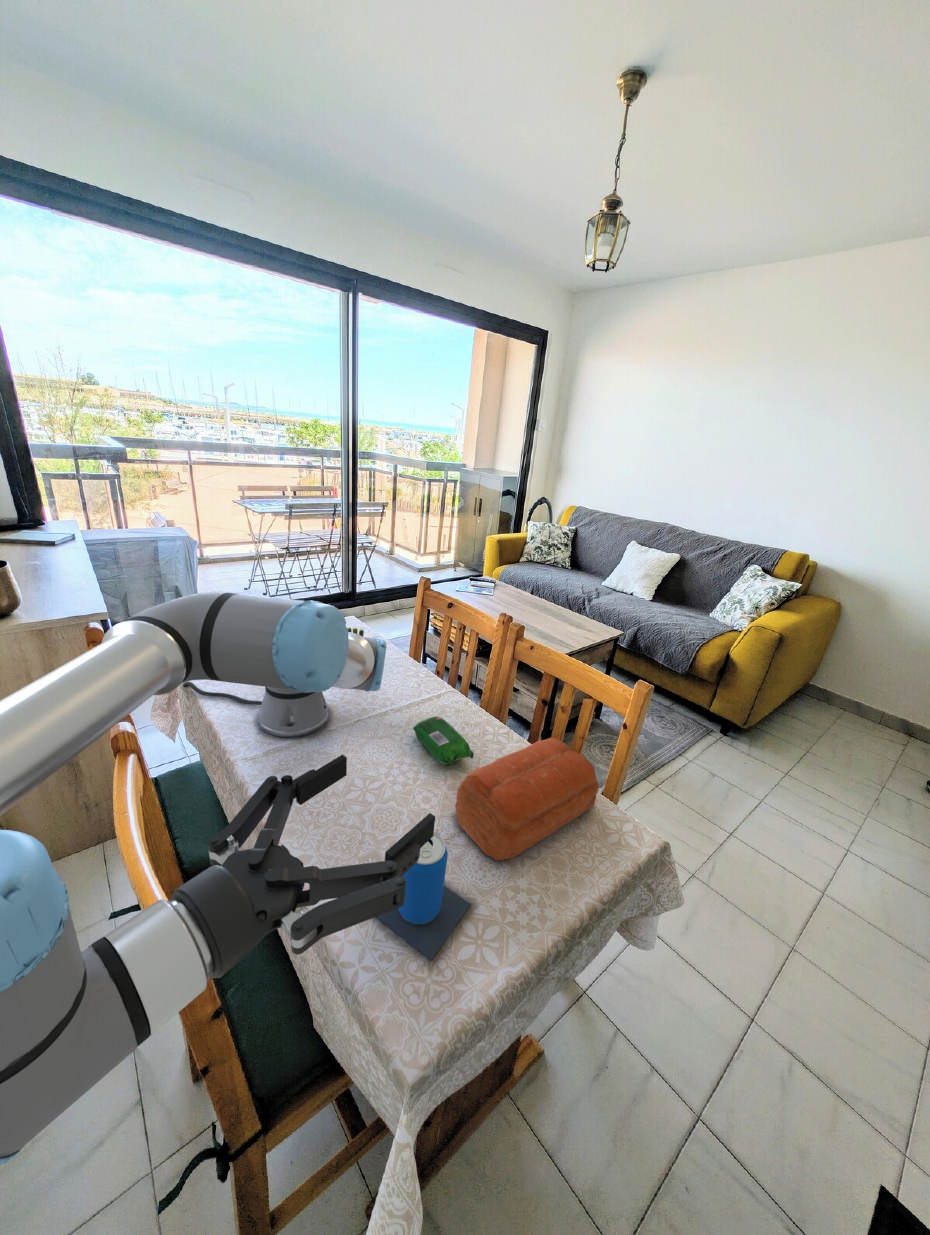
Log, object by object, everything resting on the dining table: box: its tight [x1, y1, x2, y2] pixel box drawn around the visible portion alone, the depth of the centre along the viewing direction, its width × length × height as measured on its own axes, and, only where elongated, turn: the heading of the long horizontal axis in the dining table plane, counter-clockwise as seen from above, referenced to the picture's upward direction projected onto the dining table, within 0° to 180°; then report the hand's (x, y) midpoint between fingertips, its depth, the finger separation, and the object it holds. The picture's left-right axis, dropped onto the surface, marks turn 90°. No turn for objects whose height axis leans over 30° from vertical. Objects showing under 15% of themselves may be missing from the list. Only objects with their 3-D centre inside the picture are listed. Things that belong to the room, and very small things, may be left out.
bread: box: [454, 737, 599, 862], centre depth 88 cm, size 16×27×11 cm, turn 128°
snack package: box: [412, 716, 475, 766], centre depth 103 cm, size 7×16×5 cm, turn 35°
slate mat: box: [375, 885, 472, 962], centre depth 70 cm, size 12×10×1 cm
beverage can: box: [398, 831, 449, 924], centre depth 67 cm, size 6×6×12 cm
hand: (385, 792), depth 53 cm, fingers open, 13 cm apart
